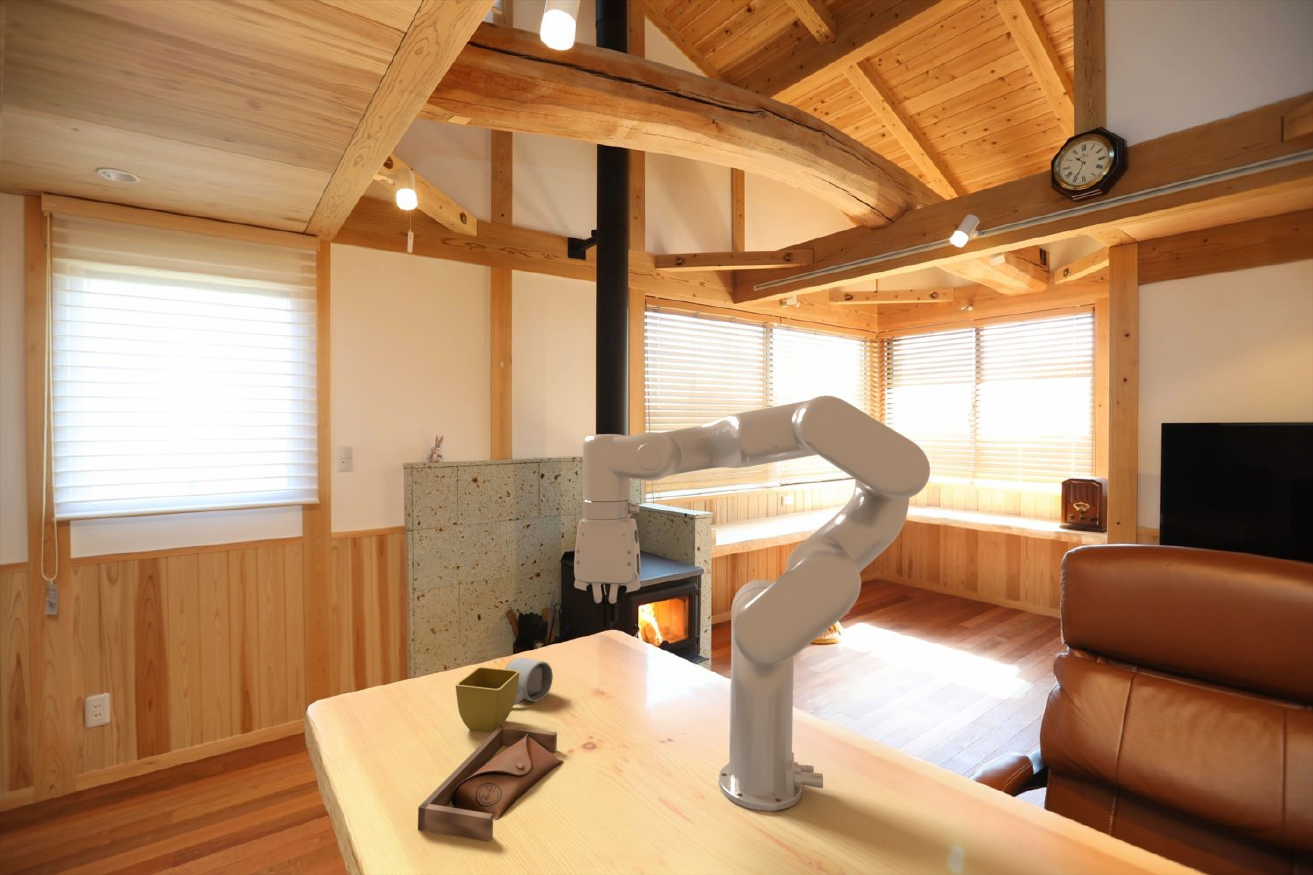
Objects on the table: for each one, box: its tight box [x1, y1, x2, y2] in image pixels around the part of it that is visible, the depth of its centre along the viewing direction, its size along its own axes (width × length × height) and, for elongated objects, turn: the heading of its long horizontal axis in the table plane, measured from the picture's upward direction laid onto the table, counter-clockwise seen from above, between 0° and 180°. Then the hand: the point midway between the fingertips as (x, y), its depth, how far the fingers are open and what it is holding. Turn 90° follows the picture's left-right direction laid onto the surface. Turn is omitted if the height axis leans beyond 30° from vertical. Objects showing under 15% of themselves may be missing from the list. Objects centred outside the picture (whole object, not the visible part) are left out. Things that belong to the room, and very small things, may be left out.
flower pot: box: [455, 666, 520, 733], centre depth 110 cm, size 9×9×9 cm
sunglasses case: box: [451, 734, 564, 821], centre depth 92 cm, size 18×7×7 cm, turn 157°
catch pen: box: [417, 724, 558, 842], centre depth 91 cm, size 10×24×3 cm, turn 168°
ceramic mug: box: [504, 657, 554, 706], centre depth 122 cm, size 11×8×8 cm
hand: (607, 625), depth 95 cm, fingers closed
